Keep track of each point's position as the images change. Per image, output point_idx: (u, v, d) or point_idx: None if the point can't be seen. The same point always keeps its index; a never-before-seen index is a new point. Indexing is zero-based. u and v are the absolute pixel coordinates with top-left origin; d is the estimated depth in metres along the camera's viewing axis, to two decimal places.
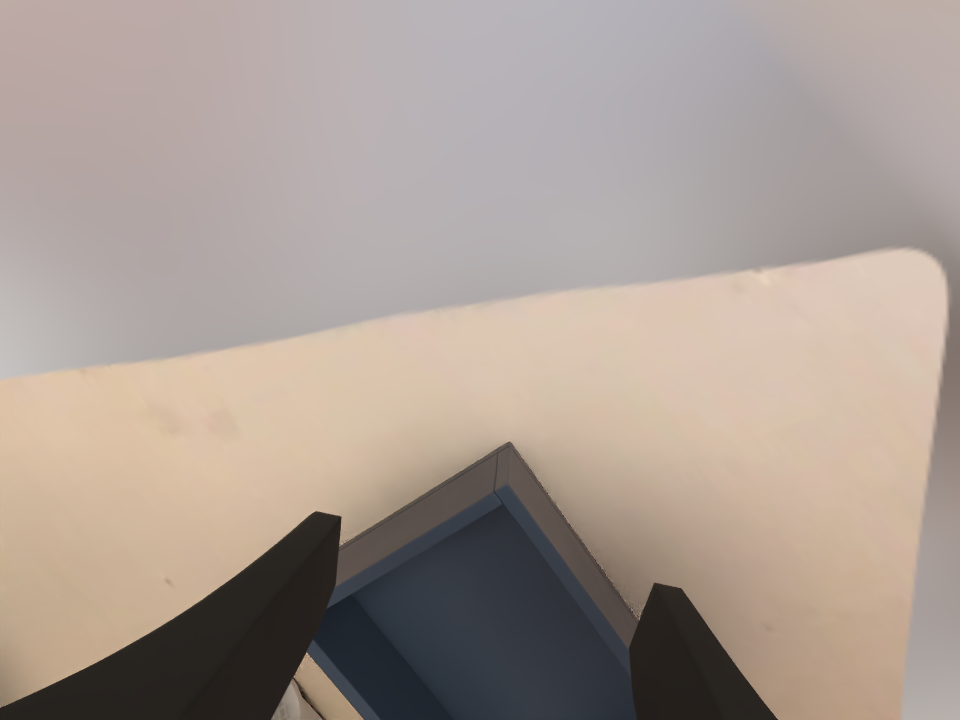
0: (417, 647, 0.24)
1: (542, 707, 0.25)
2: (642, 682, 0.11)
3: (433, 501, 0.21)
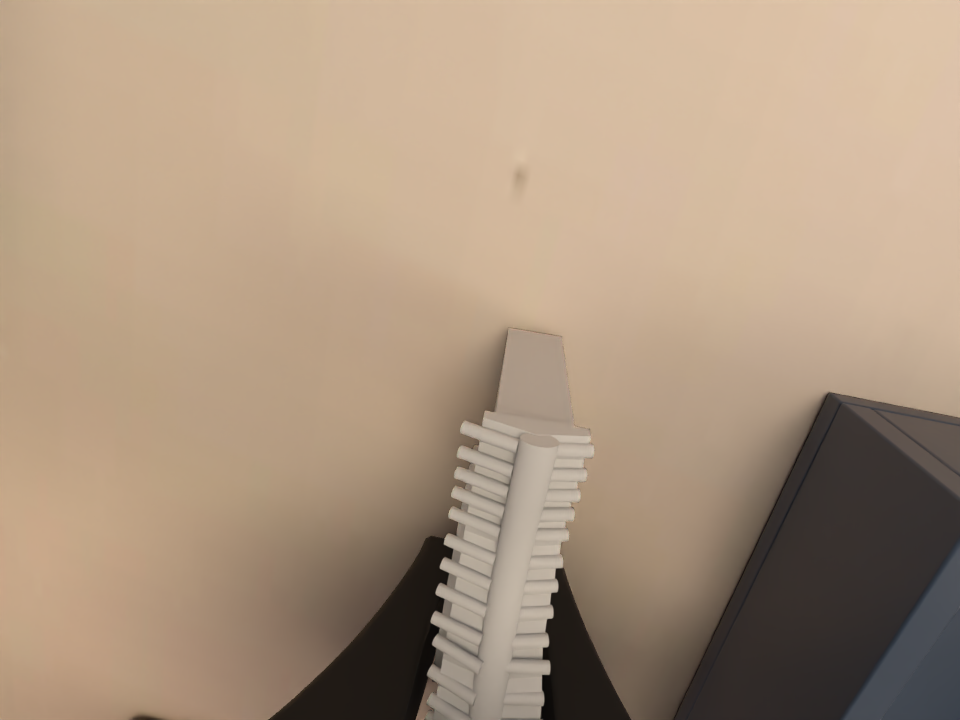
0: None
1: None
2: None
3: None
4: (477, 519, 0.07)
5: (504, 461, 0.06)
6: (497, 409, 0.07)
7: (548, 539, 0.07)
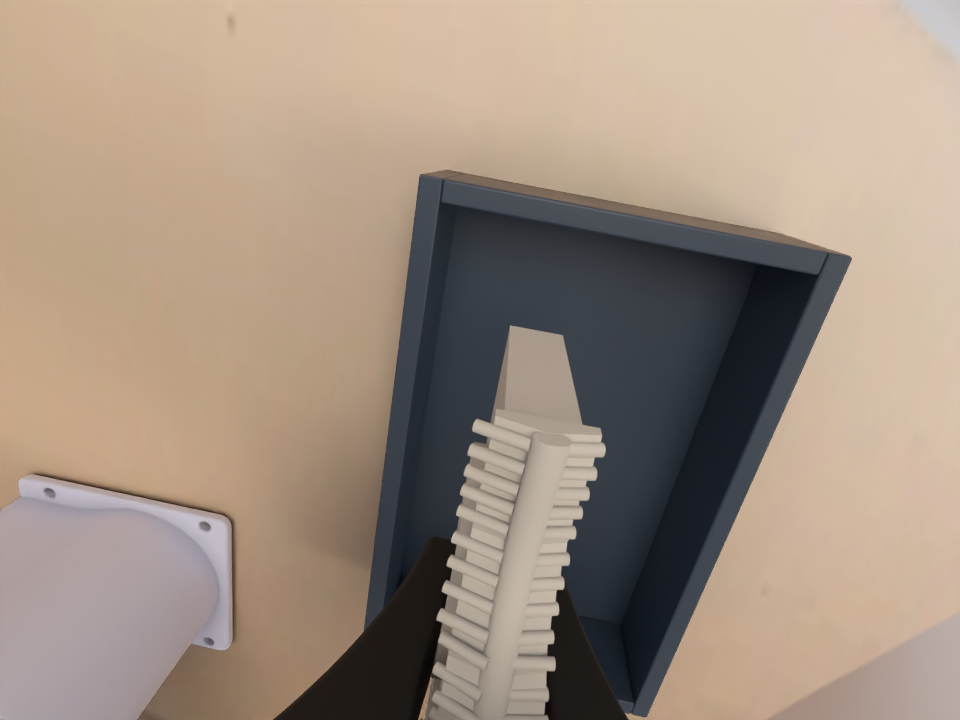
0: (460, 356, 0.18)
1: None
2: None
3: (675, 216, 0.15)
4: (485, 517, 0.07)
5: (515, 459, 0.06)
6: (505, 407, 0.07)
7: (555, 537, 0.07)
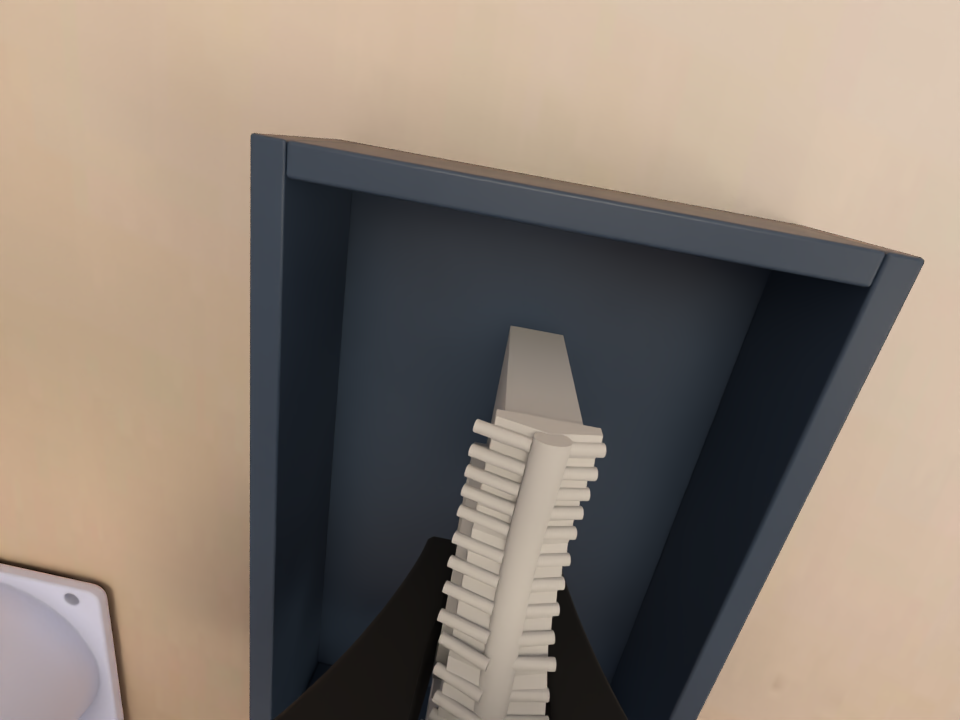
0: (372, 392, 0.14)
1: None
2: None
3: (653, 200, 0.10)
4: (486, 517, 0.07)
5: (516, 460, 0.06)
6: (506, 407, 0.07)
7: (556, 537, 0.07)
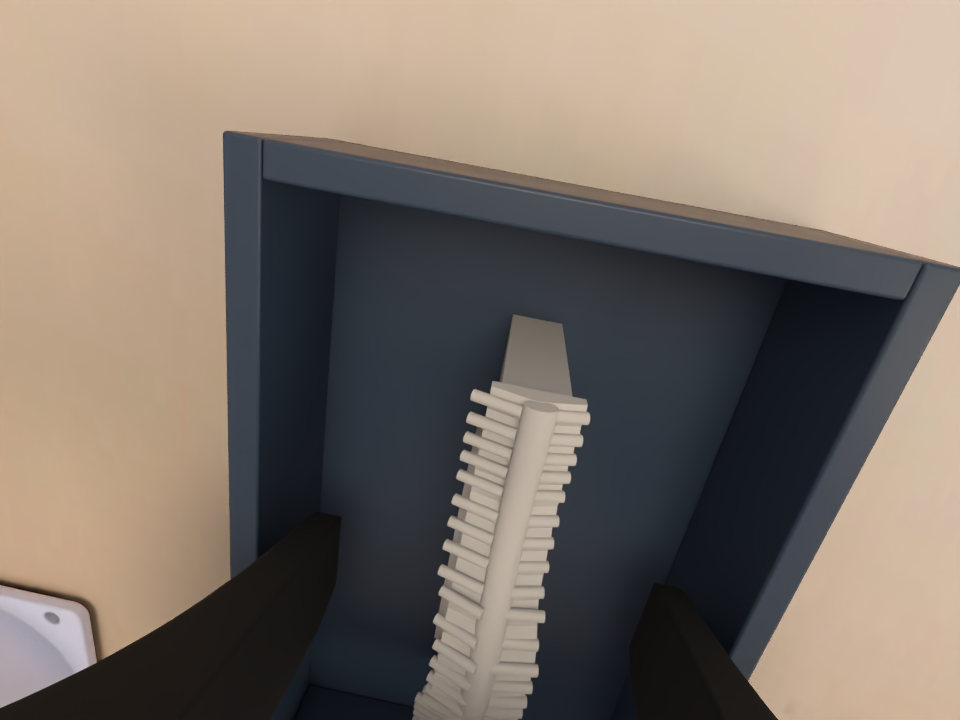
0: (363, 406, 0.13)
1: None
2: (642, 682, 0.11)
3: (662, 204, 0.10)
4: (482, 480, 0.08)
5: (509, 425, 0.07)
6: (503, 382, 0.08)
7: (546, 500, 0.08)
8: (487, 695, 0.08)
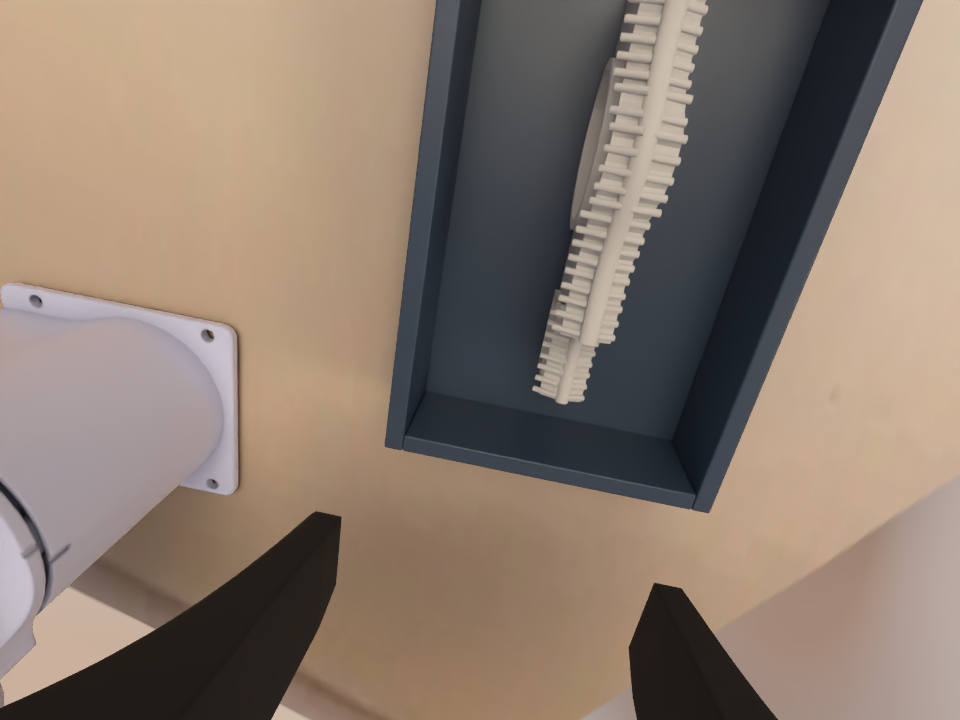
0: (498, 94, 0.16)
1: None
2: (643, 682, 0.11)
3: None
4: None
5: None
6: None
7: (694, 10, 0.11)
8: (649, 159, 0.11)
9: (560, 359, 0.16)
